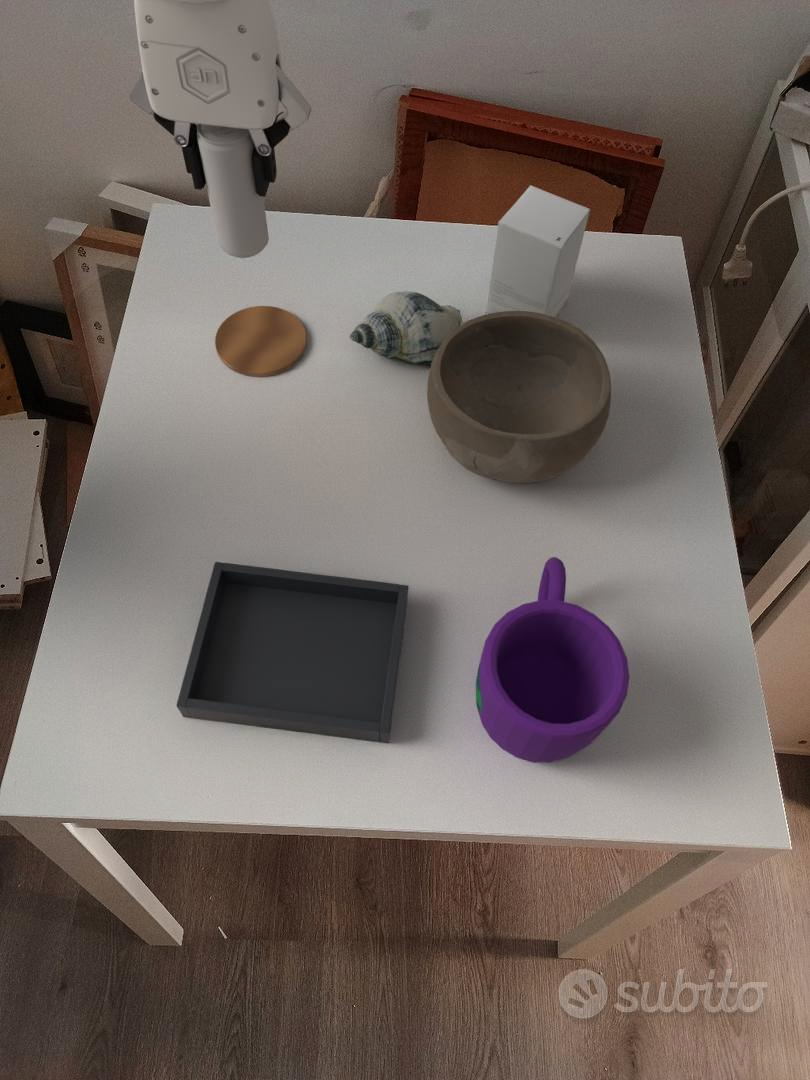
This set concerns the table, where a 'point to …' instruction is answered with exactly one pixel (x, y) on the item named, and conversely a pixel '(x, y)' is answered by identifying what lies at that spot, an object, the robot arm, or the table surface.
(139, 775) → the table surface
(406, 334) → the seashell
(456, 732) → the table surface
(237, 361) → the copper pad
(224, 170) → the beverage can
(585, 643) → the mug
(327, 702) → the tray
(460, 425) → the bowl
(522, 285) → the white packaging box
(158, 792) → the table surface
